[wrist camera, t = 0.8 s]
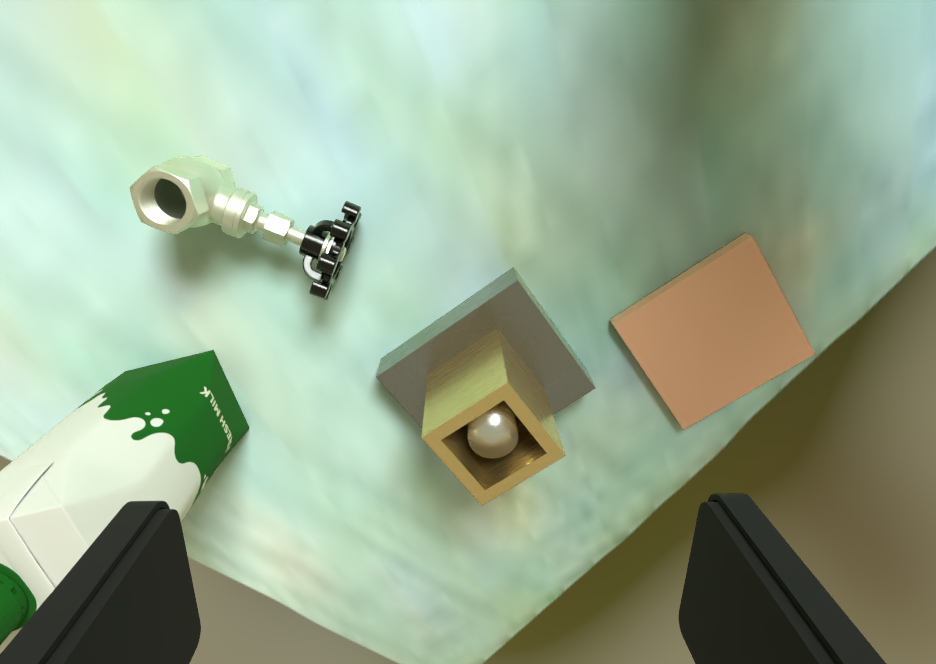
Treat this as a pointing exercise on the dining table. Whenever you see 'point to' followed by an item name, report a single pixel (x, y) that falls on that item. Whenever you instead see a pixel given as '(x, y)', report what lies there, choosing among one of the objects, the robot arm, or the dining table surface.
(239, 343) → the dining table surface
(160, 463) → the milk carton
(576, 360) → the grey base with post
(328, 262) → the valve
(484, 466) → the sleeve
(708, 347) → the tile
